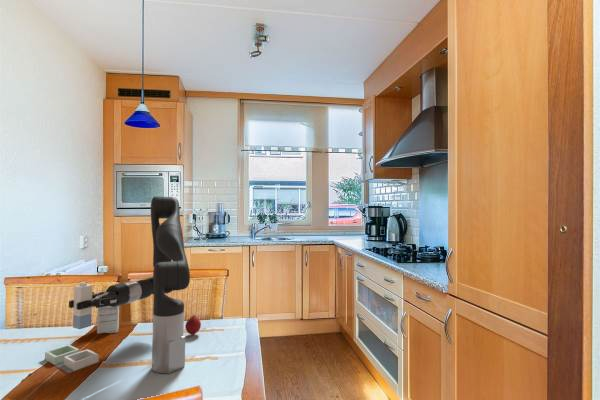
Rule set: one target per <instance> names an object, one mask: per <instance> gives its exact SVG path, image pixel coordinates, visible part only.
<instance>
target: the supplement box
mask: <svg viewBox="0 0 600 400" xmlns="http://www.w3.org/2000/svg"><path fill="white" fill-rule="evenodd" d="M96 316H97V317H96V318H97V319H96V320H97V322H96V324H97V326H96V327H97V328H96V334H103V333H104V334H105V333H107V334H116V333H118V332H119V325H120V324H119V323H120V322H119V321H120V319H119V318H120V317H119V316H120V306H117V307H111V306H105V307H99V308H97V315H96Z"/></svg>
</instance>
